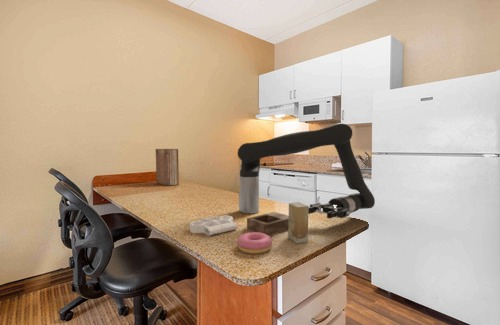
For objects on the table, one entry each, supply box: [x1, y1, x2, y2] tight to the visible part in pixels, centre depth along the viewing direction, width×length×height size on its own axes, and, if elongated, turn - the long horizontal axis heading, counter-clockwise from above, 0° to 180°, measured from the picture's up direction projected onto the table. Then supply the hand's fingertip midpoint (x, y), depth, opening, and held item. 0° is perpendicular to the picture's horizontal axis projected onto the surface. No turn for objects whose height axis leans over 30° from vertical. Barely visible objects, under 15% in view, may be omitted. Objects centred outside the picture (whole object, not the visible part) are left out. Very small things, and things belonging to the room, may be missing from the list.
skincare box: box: [287, 201, 310, 244], centre depth 86 cm, size 6×4×12 cm
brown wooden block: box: [155, 148, 180, 187], centre depth 218 cm, size 25×9×30 cm, turn 41°
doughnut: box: [236, 231, 273, 255], centre depth 80 cm, size 11×11×4 cm
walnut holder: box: [246, 211, 289, 237], centre depth 99 cm, size 11×15×4 cm
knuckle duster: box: [189, 214, 238, 237], centre depth 99 cm, size 3×18×15 cm
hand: (317, 213), depth 93 cm, fingers open, 8 cm apart
